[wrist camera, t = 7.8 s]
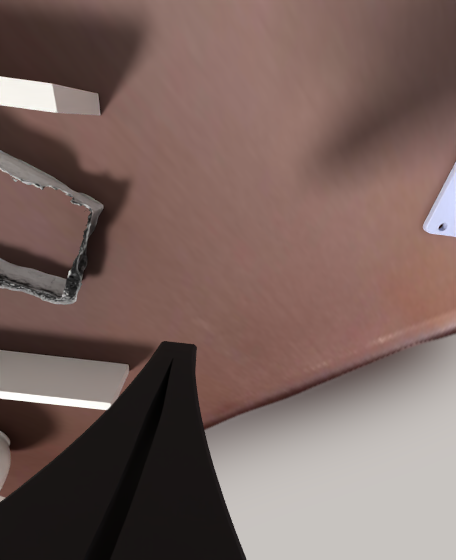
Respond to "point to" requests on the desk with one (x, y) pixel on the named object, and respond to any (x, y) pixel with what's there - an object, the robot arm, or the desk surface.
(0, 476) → the lidded jar
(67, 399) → the box
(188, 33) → the desk surface
